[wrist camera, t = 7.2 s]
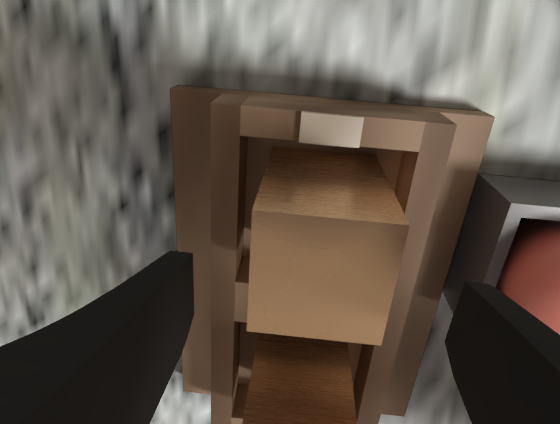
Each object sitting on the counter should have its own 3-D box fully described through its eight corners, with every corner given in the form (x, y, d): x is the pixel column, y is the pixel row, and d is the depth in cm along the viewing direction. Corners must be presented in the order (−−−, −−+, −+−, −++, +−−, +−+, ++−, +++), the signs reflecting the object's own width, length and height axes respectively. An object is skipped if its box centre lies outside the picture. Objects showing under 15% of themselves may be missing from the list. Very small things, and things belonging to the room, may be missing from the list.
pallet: (484, 111, 15) (523, 131, 13) (400, 400, 22) (413, 456, 19) (178, 85, 16) (147, 98, 13) (188, 376, 23) (170, 427, 20)
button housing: (627, 187, 16) (690, 220, 14) (571, 305, 19) (614, 352, 16) (478, 173, 17) (511, 203, 14) (442, 292, 19) (464, 336, 16)
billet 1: (375, 154, 15) (410, 225, 10) (359, 244, 17) (381, 345, 12) (273, 145, 16) (251, 210, 10) (267, 235, 17) (246, 331, 12)
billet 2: (345, 320, 19) (358, 439, 14) (334, 381, 21) (342, 507, 15) (261, 311, 19) (241, 425, 14) (257, 372, 21) (238, 494, 15)
